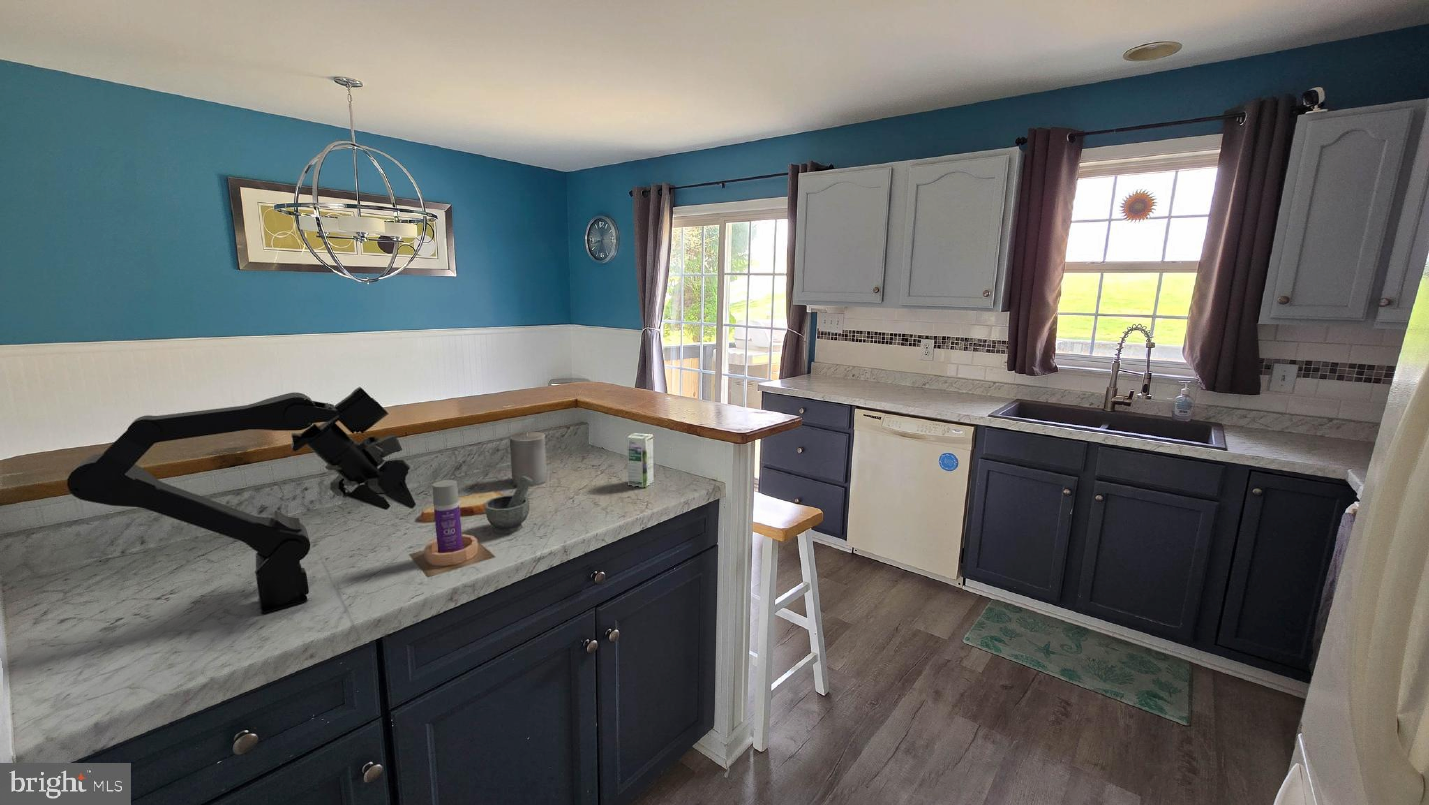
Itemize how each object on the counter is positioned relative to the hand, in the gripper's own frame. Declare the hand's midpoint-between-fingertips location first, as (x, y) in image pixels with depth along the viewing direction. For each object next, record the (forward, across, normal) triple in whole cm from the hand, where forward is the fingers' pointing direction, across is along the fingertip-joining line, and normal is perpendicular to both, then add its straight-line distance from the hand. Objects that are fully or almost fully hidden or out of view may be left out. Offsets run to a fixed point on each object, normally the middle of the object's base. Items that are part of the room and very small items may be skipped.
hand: (400, 507), depth 111 cm
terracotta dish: (+15, 0, 0) cm, 15 cm away
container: (+14, 0, 0) cm, 14 cm away
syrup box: (+47, -4, -48) cm, 67 cm away
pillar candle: (+33, +24, -38) cm, 56 cm away
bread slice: (+22, +19, -17) cm, 33 cm away
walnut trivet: (+15, 0, 0) cm, 15 cm away
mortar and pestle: (+24, +1, -13) cm, 27 cm away
